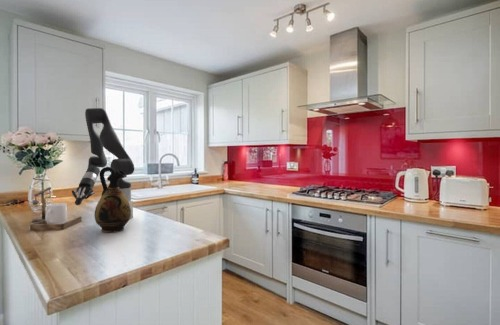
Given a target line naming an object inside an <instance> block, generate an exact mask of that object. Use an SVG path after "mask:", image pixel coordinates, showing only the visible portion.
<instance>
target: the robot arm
mask: <svg viewBox="0 0 500 325" xmlns="http://www.w3.org/2000/svg"><path fill="white" fill-rule="evenodd" d="M84 113H85V114H84V115H85V122H86V126H87V127H86V128H87V132H88V136H89V143H90V152H91V154H92V156H90V157H89V158H88V162H87V163H88V165H87V169H86V171H85V172H84V174H83V176H82V177H81V180H80V182H79V183H78V187H76V189H75V190H71V193H72V196H73V197H74V199H75V201H74V204H75V205H76V206H80V205H81V204H82V202H83V201H84V200H88V199H89V198H90V197H91V196H93V195H95V191H94V190H93V188H94V186H95V184H96V182H97V179H98V176H100V171H101V170H100V168H105V167H107V164H108V159H107V157H106V154H105V150H106V151H108V152H109V153H110V154H112V155H114V156H115V157H116V158H113V159H112V160H111V162H110V167H111V168H113V169H114V170H115V172H116V171H117V170H118V171H121V170H122V171H123V172H124V173H125V174H126V175H127V176H129V175H133V173H135V165H134V162H133V160H132V158H131V157H130V156H129V154H128V153H127V152H126V149H125V148H124V147H123V144H122V143H121V140H120V139H119V137H118V135H117V133H116V131H115V129H114V127H113V126H112V124H111V120H110V118H109V116H108V114H107V111H106V109H104V108H103V107H91V108H86V109H85V112H84ZM94 124H102V125H103V126H102V129H101V131H100V132H99V134H98V132H97V131H96V129H95V127H94V126H95V125H94ZM104 149H105V150H104ZM118 187H119V188H120V190H121V191H122V192H123V194H124V195H125V196H126V198H127V200H128V202H129V205H130V209H131V216H130V219H132V218H133V217H134V207H133V206H134V204H133V203H134V202H133V199H132V184H131V182H130V181H126V180H125V179H124V178H122V179H120V180H119V181H118Z"/></svg>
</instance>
